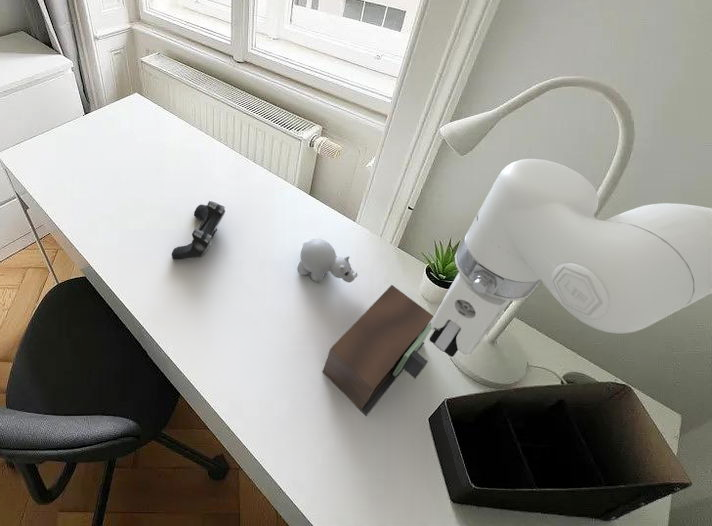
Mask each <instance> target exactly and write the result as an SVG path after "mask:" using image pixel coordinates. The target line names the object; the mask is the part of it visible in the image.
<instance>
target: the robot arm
mask: <svg viewBox="0 0 712 526" xmlns="http://www.w3.org/2000/svg"><path fill="white" fill-rule="evenodd" d="M599 200H600V198H599V195H598V192H597V190H596V188H595V187H594V185H593V184H592V183H591V182H590V181H589V179H587V178H586V177H584V175H582V174H580V173H579V171H576V170H574V169H572V168H570V167H569V166H566V165H563V164H562V163H558V162H555V161H552V160H547V159H541V158H523V159H519V160H516V161H513V162H511V163H508V165H506V166H505V167H504V168H503V169H502V170H501V171H500V173H499V174H498V176H497V177H496V179H495V181H494V183H493V185H492V186H491V189H490V190H489V192H488V193H487V196H486V198H485V199H484V201H483V203H482V205H481V206H480V208H479V210H478V212H477V213H476V216H475V217H474V219H473V221H472V223H471V225H470V227H469V229H468V231H467V232H466V234H465V236H464V238H463V240H462V241H461V243H460V245H459V247H458V249H457V251H456V253H455V255H454V264H455V266H456V270H457V271H458V272H457V274H456V275H455V278H454V279H453V282H451V285H450V286H449V288H448V290H447V291H446V294H444V297H443V299H442V301H441V303H440V305H439V306H438V307H437V310H436V312H435V314H434V315H433V318H432V320H431V321H430V323H431V328H432V329H431V331H433V332H432V333H431V335H430V337H429V341H430V342H431V343H432V344H433V345H434V346H435V347H436V348H437V349H439V350H440V351H441V352H443V353H445V354H447V355H448V356H449V357H452V358H453V357H455V355H456V353H457V352H458V351H459V352H460V353H462V354H464V355H471V354H472V353H473V352H474V351H475V350H476V348H477V346H478V345H479V344H480V343H481V341H482V340H483V339H484V337H485V336H486V335H487V334H488V332H489V331H490V330H491V329H492V327H493V326H494V324H495V323H496V322H497V320H498V319H499V318H500V316H501V315H502V314H503V312H504V311H505V310H506V308H507V307H508V306H509V305H510V303H511V302H518V301H522V300H525V299H526V298H528V297H529V296H530V295H532V293H533V292H534V291H535V289H536V288H537V287H538V285H539V284H540V283H541V282H542V284H543V285H544V287H546V289H547V291H548V292H550V294H551V295H552V296H553V297H554V298H555V299H556V301H557V302H558V303H559V304H560V305H561V306H562V307H563V308H564V309H565V310H566V311H567V312H569V313H570V314H571V315H572V316H573V317H575V318H576V319H577V320H579V321H580V322H581V323H583V324H585V325H587V326H589V327H590V328H593V329H595V330H597V331H600V332H601V331H602V332H604V333H609V334H617V335H618V334H630V333H635V332H638V331H641V330H644V329H646V328H648V327H650V326H652V325H654V324H655V323H657V322H659V321H662V320H663V319H665V318H667V317H669V316H671V315H672V314H674V313H676V312H678V311H680V310H683V309H685V308H686V307H688V306H690V305H692V304H694V303H696V302H698V301H700V300H701V299H703V298H705V297H707V296H709V295H711V296H712V207H708V206H707V207H706V206H701V205H696V204H695V205H693V204H688V203H673V202H662V203H650V204H645V205H641V206H638V207H635V208H632V209H629V210H626V211H624V212H622V213H619V214H616V215H614V216H612V217H609V218H607V219H604V220H602V219H598V218H597V217H596V216H595V214H597V211H598V209H599V204H600V203H599Z"/></svg>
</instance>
